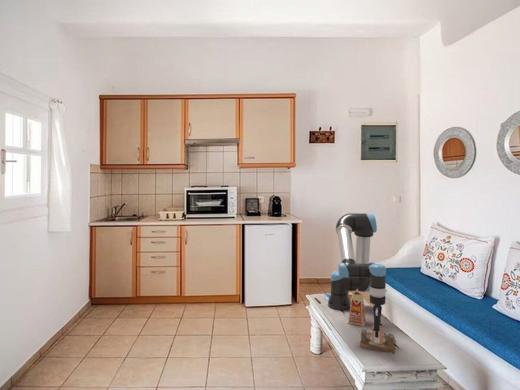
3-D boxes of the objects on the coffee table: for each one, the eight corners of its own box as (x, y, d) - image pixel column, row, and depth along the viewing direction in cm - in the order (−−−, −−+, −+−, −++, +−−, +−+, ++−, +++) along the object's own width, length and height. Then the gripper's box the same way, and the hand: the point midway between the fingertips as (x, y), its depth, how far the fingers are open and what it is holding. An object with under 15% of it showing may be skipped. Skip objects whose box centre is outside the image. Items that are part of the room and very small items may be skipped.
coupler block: (372, 342, 169) (372, 328, 169) (372, 338, 174) (372, 325, 174) (382, 344, 167) (382, 330, 167) (383, 340, 172) (383, 326, 172)
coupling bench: (362, 334, 183) (362, 323, 183) (394, 339, 177) (394, 328, 177) (359, 347, 168) (359, 335, 168) (393, 353, 162) (394, 341, 162)
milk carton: (364, 326, 194) (364, 291, 193) (347, 323, 198) (347, 289, 197) (366, 320, 202) (366, 287, 201) (350, 317, 206) (350, 285, 205)
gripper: (384, 301, 160) (384, 350, 161) (386, 290, 177) (385, 334, 178) (368, 299, 163) (367, 347, 164) (371, 289, 180) (370, 332, 180)
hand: (377, 340), depth 171 cm, fingers closed on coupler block, 5 cm apart
